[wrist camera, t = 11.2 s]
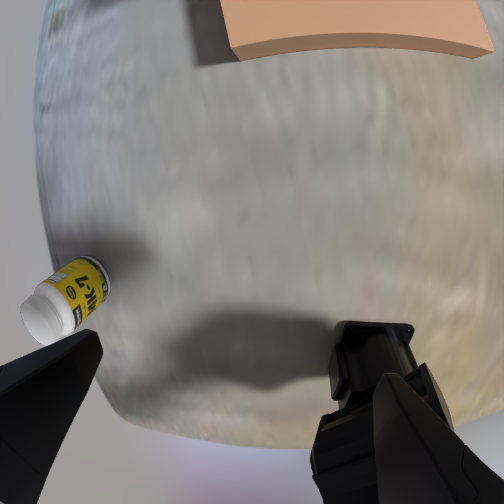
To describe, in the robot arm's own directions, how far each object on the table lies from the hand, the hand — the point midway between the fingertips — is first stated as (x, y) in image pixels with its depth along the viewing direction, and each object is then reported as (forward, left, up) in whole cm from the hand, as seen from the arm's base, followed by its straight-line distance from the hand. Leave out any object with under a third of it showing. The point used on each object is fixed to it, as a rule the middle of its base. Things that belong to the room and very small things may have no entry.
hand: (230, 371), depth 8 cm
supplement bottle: (+16, +6, -13) cm, 22 cm away
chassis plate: (-4, -23, -13) cm, 26 cm away
